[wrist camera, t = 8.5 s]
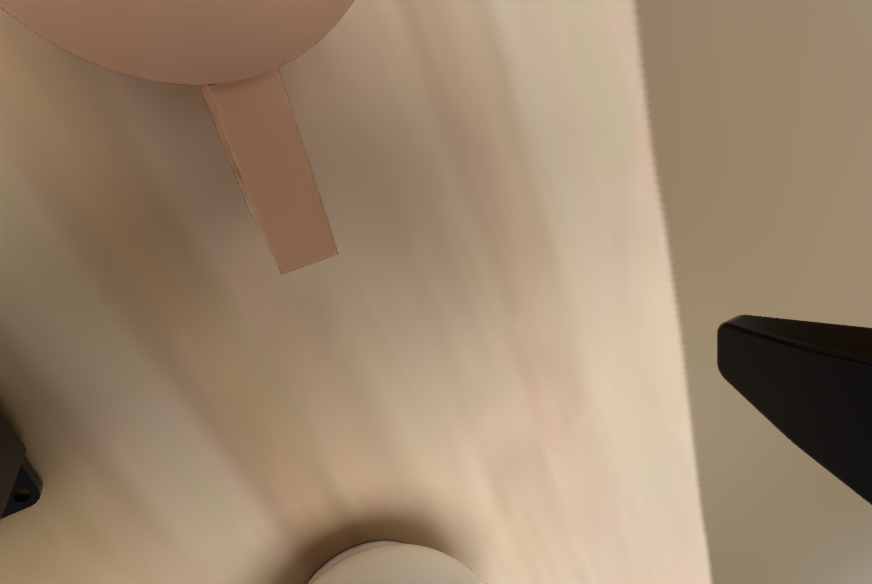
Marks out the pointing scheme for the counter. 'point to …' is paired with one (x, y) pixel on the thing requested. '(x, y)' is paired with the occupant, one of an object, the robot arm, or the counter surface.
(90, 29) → the tan handled cup
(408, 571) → the lidded jar
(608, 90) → the counter surface
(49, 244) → the counter surface
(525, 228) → the counter surface
